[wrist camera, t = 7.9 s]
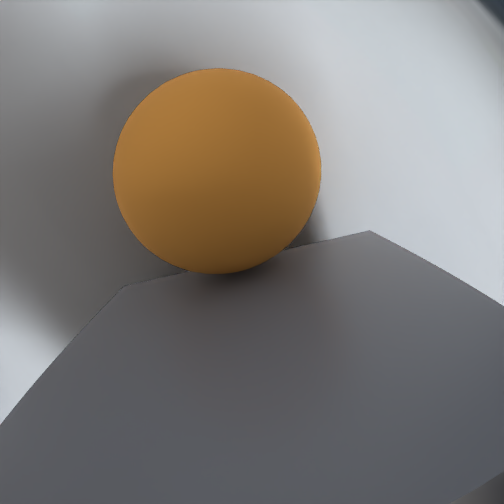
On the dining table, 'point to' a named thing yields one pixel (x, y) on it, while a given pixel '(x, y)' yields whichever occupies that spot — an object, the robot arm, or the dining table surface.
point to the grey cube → (273, 389)
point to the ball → (216, 171)
